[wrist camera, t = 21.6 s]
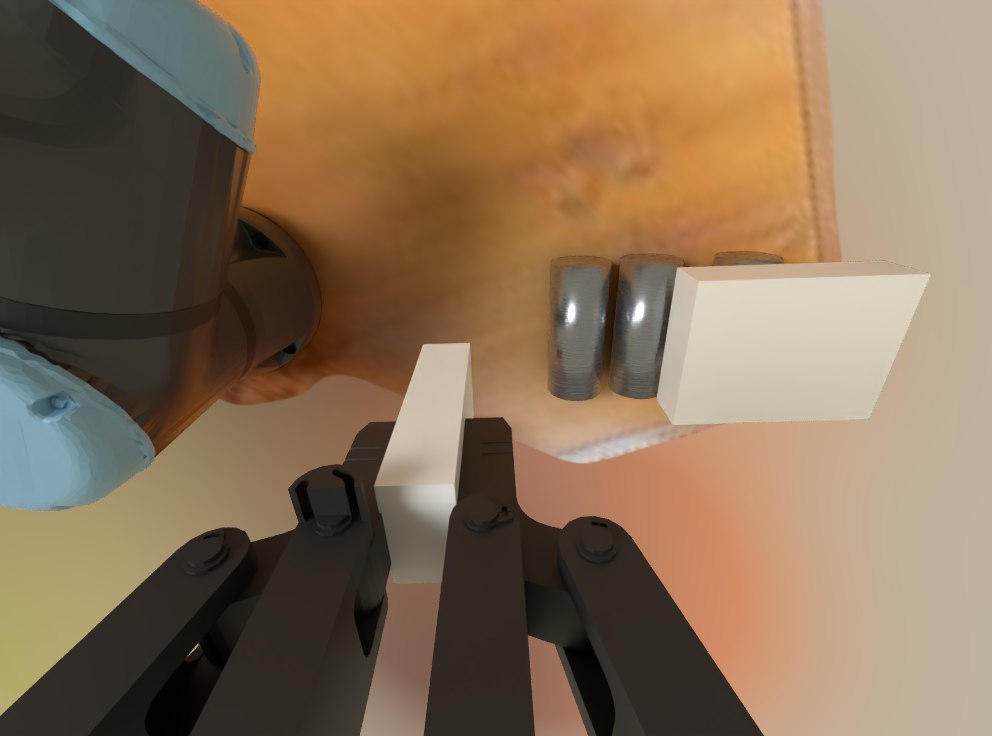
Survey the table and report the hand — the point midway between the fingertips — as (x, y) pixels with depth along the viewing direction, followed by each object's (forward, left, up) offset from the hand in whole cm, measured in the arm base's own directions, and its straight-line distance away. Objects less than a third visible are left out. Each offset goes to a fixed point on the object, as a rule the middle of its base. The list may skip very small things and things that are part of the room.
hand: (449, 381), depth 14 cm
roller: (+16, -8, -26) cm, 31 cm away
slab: (+24, -8, -21) cm, 33 cm away
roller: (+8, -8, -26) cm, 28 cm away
